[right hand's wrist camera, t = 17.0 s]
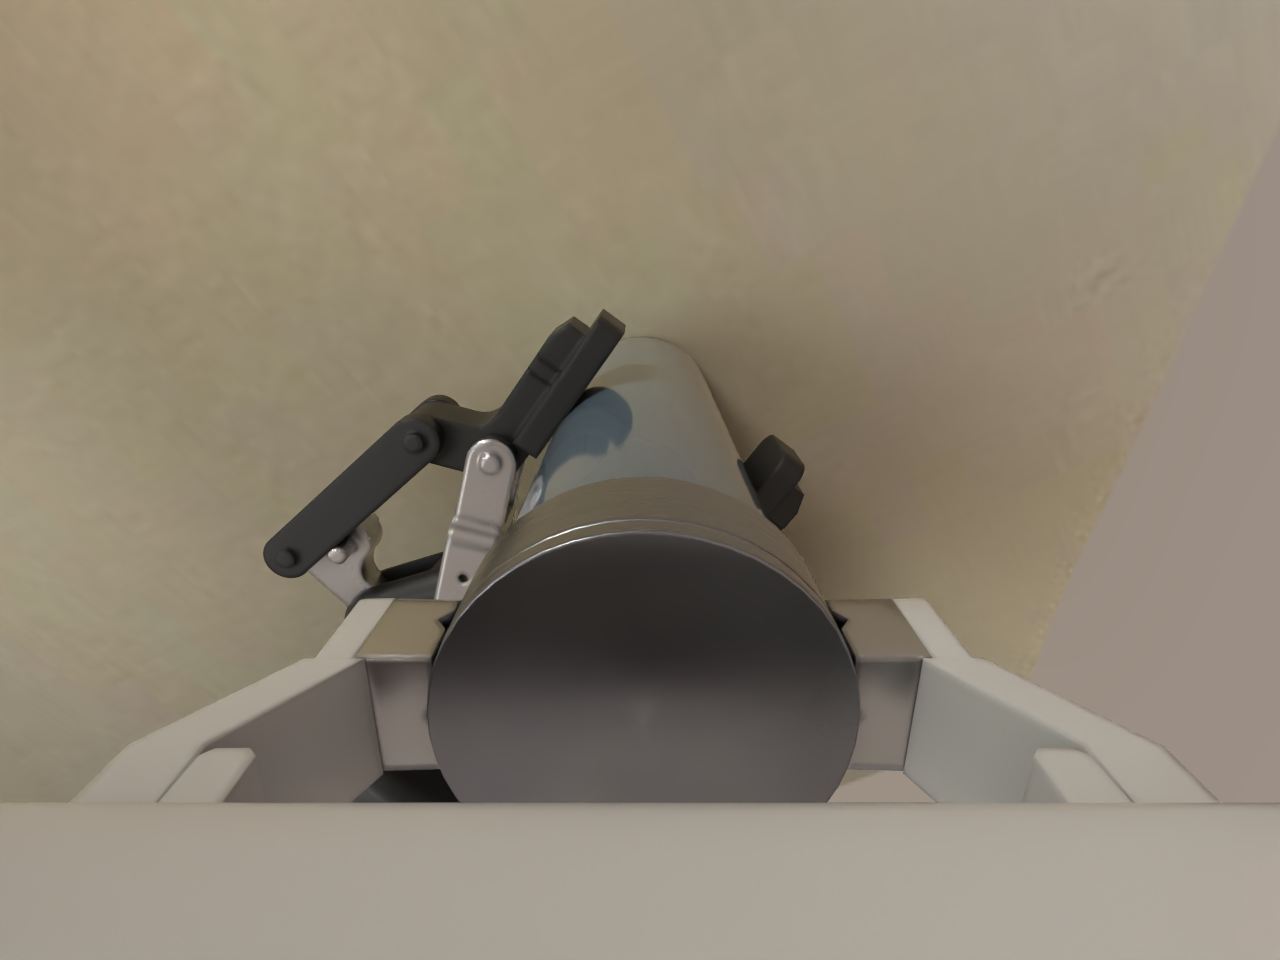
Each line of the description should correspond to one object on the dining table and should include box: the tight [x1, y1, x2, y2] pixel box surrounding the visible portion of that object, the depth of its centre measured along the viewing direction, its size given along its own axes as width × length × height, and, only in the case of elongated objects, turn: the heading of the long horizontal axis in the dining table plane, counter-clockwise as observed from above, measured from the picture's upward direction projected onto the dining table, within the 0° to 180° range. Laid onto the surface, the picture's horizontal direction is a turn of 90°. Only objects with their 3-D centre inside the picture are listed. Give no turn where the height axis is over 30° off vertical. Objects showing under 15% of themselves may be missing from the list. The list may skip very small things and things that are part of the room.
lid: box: [427, 477, 860, 803], centre depth 9 cm, size 5×5×2 cm
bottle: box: [515, 337, 768, 522], centre depth 17 cm, size 5×5×16 cm
